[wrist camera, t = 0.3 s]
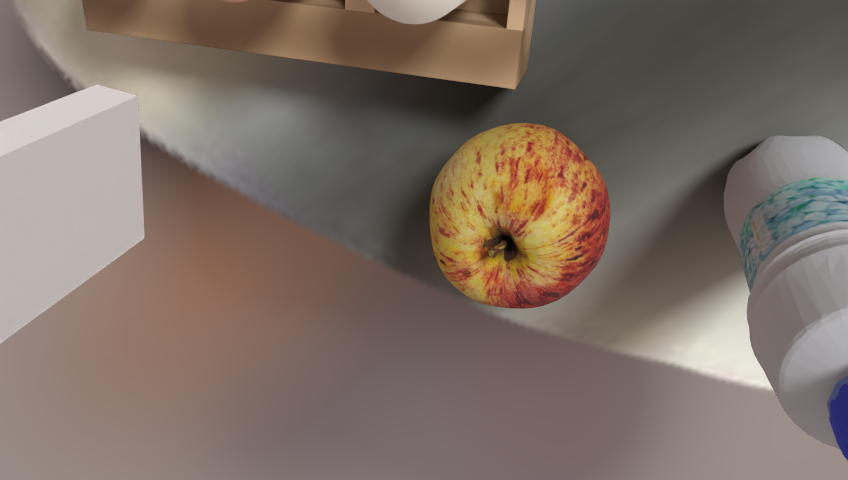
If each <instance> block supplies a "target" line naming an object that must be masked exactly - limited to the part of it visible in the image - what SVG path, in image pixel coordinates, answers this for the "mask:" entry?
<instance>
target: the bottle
mask: <svg viewBox="0 0 848 480" xmlns="http://www.w3.org/2000/svg"><path fill="white" fill-rule="evenodd" d="M723 206H724V215H725V218H726V222H727V225H728V227H729V230H730V232H731V235H732V237H733V239H734V241H735V243H736V246H737V248H738V250H739V253H740V257H741V261H742V264H743V268H744V272H745V276H746V279H747V283H748V287H749V291H750V295H749V298H748V305H747V320H748V325H749V328H750V341H751V346H752V349H753V351H754V354H755V356H756V358H757V360H758V362H759V363H760V365H761V367H762V368H763V370H764V372H765V374H766V376H767V378H768V380H769V382H770V384H771V386H772V387H773V389H774V391H775V393H776V395H777V397H778V399H779V401H780V403H781V405H782V407H783V409H784V411H785V412H786V413H787V415H788V416H789V417H790V418H791V419H792V421H793V422H794V423H795V424H796V425H797V426H798V427H800V428H801V429H802V430H803V431H805V432H806V433H807V434H809V435H810V436H812V437H814V438H815V439H817V440H819V441H821V442H823V443H825V444H827V445H830V446H833V447H836V448H839V449H841V451H842V453H843V455H844V457H845V458H846V459H847V460H848V152H847V151H845V150H844V149H843V148H842V147H840V146H839V145H838V144H836V143H835V142H833V141H831V140H830V139H827V138H824V137H822V136H817V135H813V136H782V135H777V136H772V137H769V138H767V139H765V140H763V141H762V142H761V143H760V144H759V145H758V146H757V148H755V149H754V150H753V151H751V152H750V153H749V154H748V155H746V156H745V157H744V158H742V159H741V160H738V161H736V162H735V164H734V165H733V166H732V168H731V169H730V171H729V173H728V177H727V182H726V186H725V191H724V204H723Z"/></svg>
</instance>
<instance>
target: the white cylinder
mask: <svg viewBox="0 0 848 480" xmlns="http://www.w3.org/2000/svg"><path fill="white" fill-rule="evenodd" d="M367 1H368V2H369V3H370V4H371V5H372V6H373V7H374V8H375V9H376V10H377V11H379V12H380V13H381V14H383V15H384V16H386V17H388V18H390V19H392V20H395V21H397V22H400V23H406V24H424V23H429V22H432V21H435V20H437V19H439V18H441V17H443V16H445V15H446V14H448V13H449V12H451V11H452V10H454V9H455V8H457V7H458V6H459V5H461V4H462V3H464V2H465V1H467V0H367Z"/></svg>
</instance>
